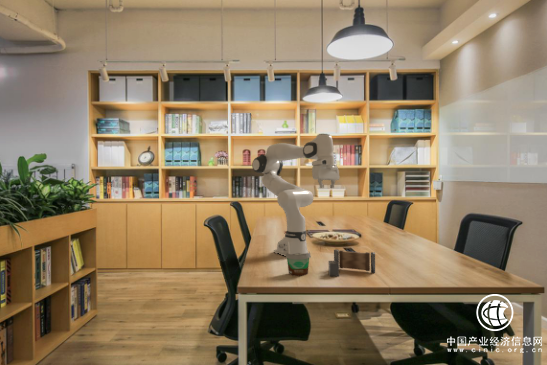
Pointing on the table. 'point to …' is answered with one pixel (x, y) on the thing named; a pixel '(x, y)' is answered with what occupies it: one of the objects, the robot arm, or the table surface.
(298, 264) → the yogurt cup
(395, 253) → the table surface
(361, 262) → the brown wooden bar
